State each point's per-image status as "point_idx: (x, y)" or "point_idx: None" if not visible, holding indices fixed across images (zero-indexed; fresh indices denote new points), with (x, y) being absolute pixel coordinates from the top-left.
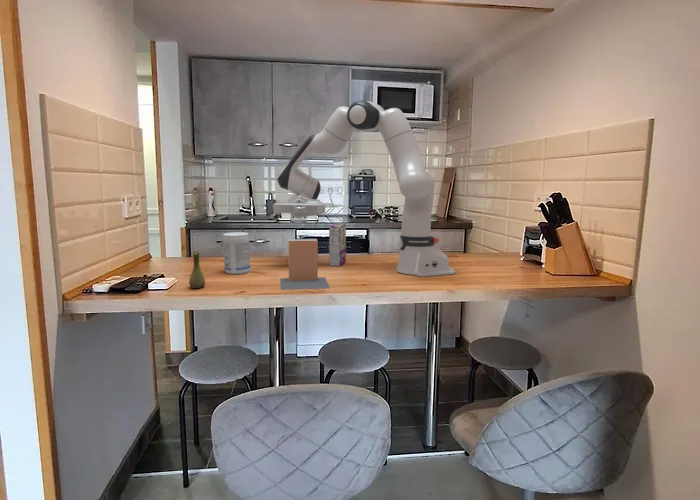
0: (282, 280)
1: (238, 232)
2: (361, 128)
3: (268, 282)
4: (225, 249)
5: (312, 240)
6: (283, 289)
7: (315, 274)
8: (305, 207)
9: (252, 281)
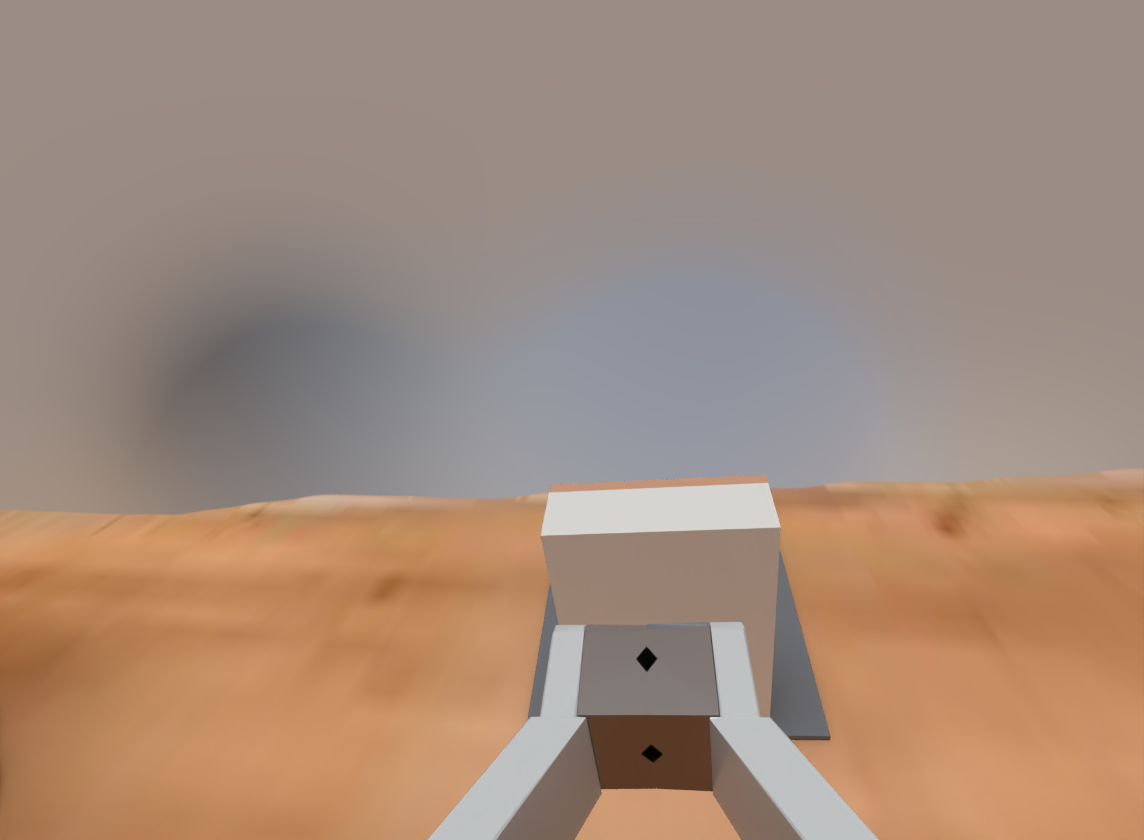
0: (801, 679)
1: None
2: None
3: (885, 668)
4: None
5: (585, 491)
6: None
7: None
8: (474, 805)
9: (1010, 701)
